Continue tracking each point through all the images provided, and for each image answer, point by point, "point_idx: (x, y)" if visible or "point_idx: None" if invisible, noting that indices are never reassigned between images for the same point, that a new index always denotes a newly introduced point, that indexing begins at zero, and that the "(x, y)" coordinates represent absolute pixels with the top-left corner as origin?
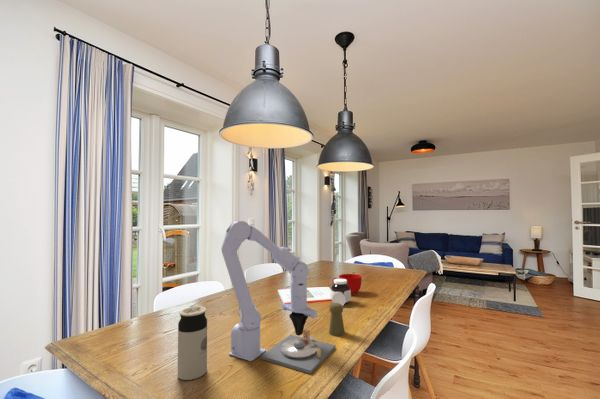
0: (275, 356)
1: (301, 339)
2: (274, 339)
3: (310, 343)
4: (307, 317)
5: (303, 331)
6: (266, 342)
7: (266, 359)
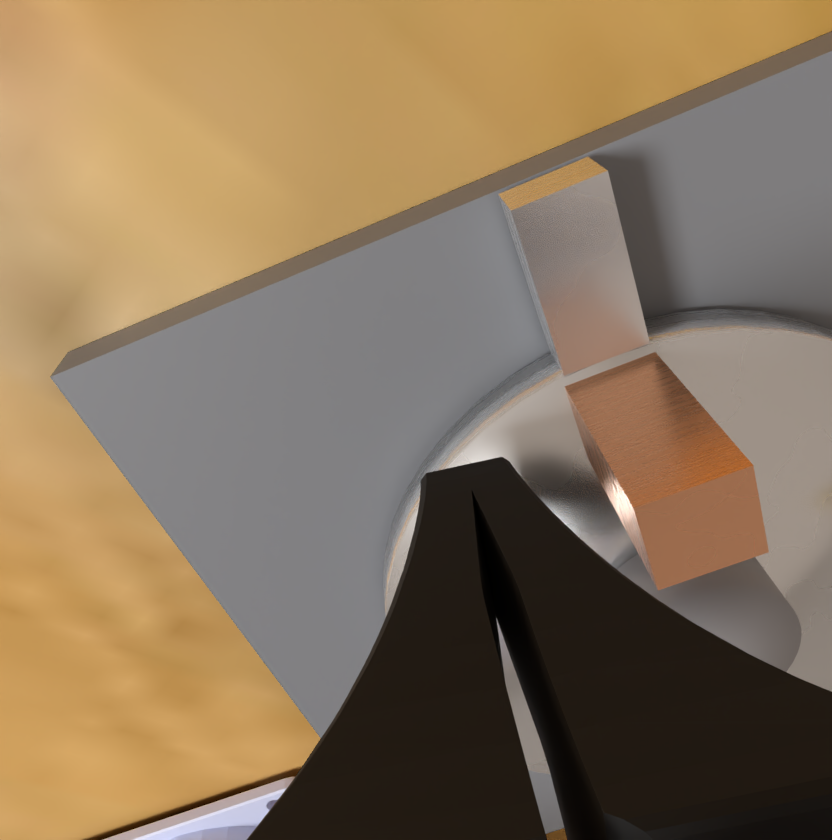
0: (545, 794)
1: (683, 600)
2: (4, 583)
3: (751, 417)
4: (816, 702)
5: (660, 582)
6: (53, 691)
7: None
